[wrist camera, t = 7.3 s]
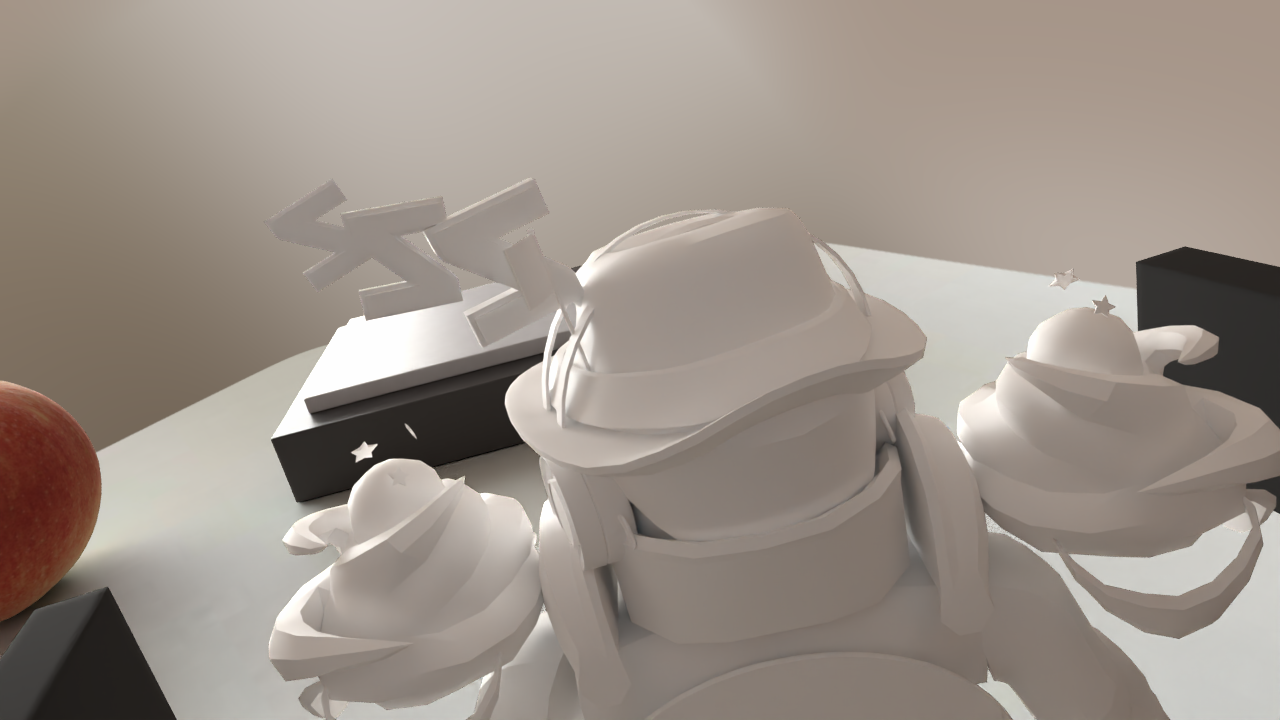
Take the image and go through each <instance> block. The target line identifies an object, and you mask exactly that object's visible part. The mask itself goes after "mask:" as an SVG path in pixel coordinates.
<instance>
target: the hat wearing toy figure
mask: <svg viewBox="0 0 1280 720" xmlns="http://www.w3.org/2000/svg"><path fill="white" fill-rule="evenodd" d="M346 200H347V199H346V198H345V196H344V195H343V193H342V192H341V191H340V189H339V188H338V186H337V185H336V184H335V182H334V181H333V179H331V180H329V181H328V182H326V183H324V184H323V185H321V186H320V187H318V188H316V189H315V190H313V191H312V192H310V193H309V194H307V195H305V196H304V197H303V198H301V199H299V200H297V201H296V202H294V203H293V204H291V205H289V206H288V207H286V208H285V209H283V210H281V211H280V212H279V213H277V214H275V215H274V216H272V217H270V218H269V219H267V220H266V221H264V223H265V224H266V225H267V227H268V228H269V229H270V231H271V232H272V233H273V234H274V235H275V236H276V237H277V238H278V239H280V240H283V241H287V242H291V243H296V244H300V245H304V246H309V247H313V248H318V249H322V250H327V251H331V252H335V253H333V254H331V255H330V256H328V257H327V258H325V259H324V260H322V261H321V262H319V263H318V264H316V265H315V266H313V267H311V268H310V269H308V270H306V271H305V272H304V273H303V274H304V275H305V277H306V278H307V279H308V281H309V282H310V283H311V285H312V286H313V287H314V288H315V290H316V291H317V292H320V291H321V290H323V289H324V288H326V287H327V286H329V285H331V284H332V283H334V282H335V281H337V280H338V279H340V278H341V277H343V276H344V275H346V274H348V273H349V272H351V271H352V270H354V269H355V268H357V267H358V266H360V265H361V264H363V263H365V262H366V261H368V260H369V259H371V258H373V259H375V260H377V261H378V262H379V263H381V264H382V265H384V266H385V267H386V268H388V269H389V270H391V271H392V272H394V273H395V274H397V275H398V276H400V277H401V278H403V279H404V280H405V281H403V282H398V283H392V284H387V285H382V286H377V287H372V288H367V289H362V290H359V295H360V299H361V303H362V308H363V312H364V316H365V320H366V321H369V320H374V319H379V318H383V317H388V316H393V315H398V314H403V313H408V312H412V311H417V310H422V309H427V308H432V307H437V306H442V305H446V304H451V303H456V302H460V301H463V297H462V292H461V288H460V285H459V280H458V278H457V277H456V276H455V274H454V273H453V272H451V271H450V270H449V269H447V268H446V267H444V266H443V265H441V264H440V263H439V262H437V261H436V260H434V259H433V258H432V257H430V256H429V255H427V254H426V253H425V252H423V251H422V250H421V249H419V248H418V247H416V246H415V245H414V244H412V243H411V242H409V241H408V240H406V239H405V238H404V237H402V235H408V234H413V233H419V232H423V233H424V235H425V237H426V239H427V241H428V243H429V244H430V246H431V248H432V250H433V251H434V253H435V254H436V255H437V256H438V257H439V258H440V259H441V260H442V261H443V262H446V263H448V264H451V265H453V266H456V267H458V268H461V269H463V270H466V271H469V272H471V273H474V274H477V275H479V276H482V277H485V278H487V279H490V280H493V281H495V282H498V283H500V284H503V285H506V286H508V287H511V289H509V290H507V291H505V292H503V293H501V294H499V295H497V296H495V297H493V298H491V299H489V300H487V301H485V302H483V303H481V304H479V305H476V306H474V307H472V308H470V309H468V310H466V311H464V312H463V313H464V315H465V317H466V319H467V321H468V323H469V325H470V327H471V329H472V331H473V333H474V335H475V337H476V339H477V340H478V343H479V344H480V345H481V346H482V348H484V347H486V346H488V345H490V344H492V343H494V342H496V341H498V340H500V339H502V338H504V337H506V336H508V335H510V334H512V333H514V332H516V331H517V330H519V329H521V328H523V327H525V326H527V325H529V324H531V323H533V322H535V321H537V320H539V319H541V318H543V317H545V316H547V315H549V314H551V313H553V312H555V311H557V312H556V315H555V317H554V319H553V322H552V324H551V327H550V331H549V335H548V339H547V343H546V347H545V351H544V359H543V361H542V362H541V363H539V364H537V365H535V366H533V367H531V368H530V369H528V370H527V371H526V372H524V373H523V374H521V375H520V376H519V377H518V378H517V379H516V380H515V381H514V382H513V383H512V384H511V385H510V387H509V389H508V391H507V392H506V396H505V406H506V410H507V413H508V416H509V419H510V421H511V423H512V425H513V426H514V428H515V429H516V431H517V432H518V434H519V435H520V437H521V438H522V440H523V441H525V442H526V443H527V444H528V445H529V446H530V447H531V448H532V449H533V450H534V451H535V452H536V453H538V454H539V455H540V456H541V457H540V458H539V465H540V470H541V475H542V479H543V483H544V487H545V490H546V493H547V496H548V500H547V501H546V502H545V503H544V505H543V509H542V513H541V517H540V523H539V552H538V551H537V550H536V549H535V545H536V538H537V534H536V533H535V532H534V531H533V532H532V524H531V523H530V521H529V519H528V517H527V515H526V513H525V511H524V509H523V507H522V505H521V504H520V503H519V502H518V501H517V500H516V499H515V498H511V497H505V496H500V495H495V494H490V493H480V494H479V493H478V492H476V491H475V490H473V489H471V488H470V487H468V486H467V485H465V484H464V481H465V476H463V477H461V478H459V479H457V480H453V479H450V478H446V479H442V480H441V479H440V478H439V476H438V474H437V473H436V471H435V470H434V469H433V468H432V467H430V466H428V465H427V464H425V463H424V462H422V461H420V460H411V459H389V460H386V461H384V462H381V463H378V464H376V465H374V466H373V467H372V468H371V469H370V470H368V471H367V472H366V473H365V474H364V475H363V476H362V477H361V478H360V479H359V481H358V482H357V483H356V484H355V485H354V486H353V488H352V491H351V494H350V498H349V501H348V504H345V505H341V506H337V507H333V508H329V509H326V510H322V511H319V512H315V513H313V514H310V515H308V516H306V517H304V518H302V519H300V520H298V521H296V522H295V524H294V525H293V526H292V527H291V529H290V530H289V531H288V533H287V534H286V536H285V537H284V539H283V540H282V541H283V543H284V545H285V546H286V548H287V550H288V552H289V554H293V555H308V554H316V553H319V552H321V551H323V550H324V549H325V548H326V547H327V546H328V545H327V544H331V545H334V546H335V548H336V549H337V550H338V552H339V553H340V554H341V556H340V557H339V558H338V560H337V561H336V562H335V563H334V564H333V565H331V566H330V567H328V568H327V569H326V570H324V571H323V572H322V573H320V574H319V575H317V576H316V577H315V578H313V579H312V580H310V581H309V582H308V583H306V584H305V585H304V586H302V587H301V588H300V589H299V591H298V592H297V593H296V594H295V595H294V597H293V598H292V599H291V600H290V602H289V603H288V604H287V605H286V606H285V608H284V609H283V610H282V611H281V612H280V614H279V615H278V616H277V619H276V622H275V625H274V628H273V632H272V635H271V638H270V642H269V660H270V661H271V663H272V664H273V665H274V666H275V668H276V669H277V670H278V672H279V673H280V674H281V676H282V677H283V678H284V680H285V681H292V680H299V679H306V678H313V677H317V676H318V677H319V679H320V681H318V682H316V683H314V684H312V685H310V686H308V687H306V688H305V689H304V691H303V692H302V694H301V695H300V697H299V700H300V703H301V705H302V706H303V707H304V708H305V709H306V710H308V711H309V712H310V713H311V714H313V715H315V716H318V717H322V718H326V720H336V719H335V718H337V717H338V716H339V715H340V714H341V713H342V712H343V711H344V710H345V709H346V707H347V704H348V701H350V702H367V703H375V704H377V705H379V706H381V707H383V708H385V709H386V710H391V709H399V708H406V707H414V706H422V705H428V704H430V703H432V702H434V701H436V700H438V699H440V698H443V697H445V696H447V695H449V694H451V693H453V692H455V691H457V690H459V689H461V688H463V687H465V686H467V685H468V684H470V683H472V682H474V681H476V680H478V679H480V678H481V677H483V676H484V678H483V681H482V684H481V687H480V690H479V695H478V699H477V703H476V707H475V711H474V714H473V715H471V716H470V717H469V718H467V719H466V720H1013V719H1012V718H1011V716H1010V715H1009V714H1008V712H1007V711H1006V710H1005V708H1004V707H1003V706H1002V705H1001V704H1000V703H999V702H998V701H996V700H995V699H994V698H993V697H992V696H991V695H990V694H989V693H988V692H986V691H985V690H984V689H982V688H981V687H980V686H978V685H977V684H979V683H985V682H987V671H988V669H989V671H990V673H991V675H992V677H993V679H994V681H1000V682H1004V683H1007V684H1009V686H1010V687H1011V688H1012V689H1013V691H1014V692H1015V693H1016V695H1017V696H1018V697H1019V698H1020V700H1021V701H1022V703H1023V704H1024V705H1025V707H1026V708H1027V710H1028V711H1029V712H1030V714H1031V715H1032V716H1033V717H1034V718H1035V719H1036V720H1170V719H1169V717H1168V716H1167V715H1166V713H1165V712H1164V710H1163V708H1162V707H1161V705H1160V703H1159V701H1158V699H1157V697H1156V695H1155V694H1154V693H1153V692H1152V690H1151V689H1150V687H1149V684H1148V682H1147V680H1146V678H1145V676H1144V675H1143V674H1142V673H1141V671H1140V670H1139V669H1138V668H1137V666H1136V665H1135V664H1134V663H1133V662H1132V660H1131V659H1130V658H1129V657H1128V656H1127V655H1126V654H1125V653H1124V652H1123V651H1122V650H1121V649H1120V648H1119V647H1118V646H1117V645H1116V644H1115V643H1113V642H1112V641H1111V640H1110V639H1109V638H1107V637H1106V636H1105V635H1104V634H1103V633H1101V632H1100V631H1099V630H1098V629H1096V628H1094V627H1092V626H1091V625H1090V623H1089V621H1088V620H1087V618H1086V616H1085V615H1084V613H1083V611H1082V610H1081V608H1080V606H1079V605H1078V603H1077V602H1076V600H1075V599H1074V597H1073V595H1072V594H1071V592H1070V591H1069V589H1068V587H1067V586H1066V584H1065V583H1064V581H1063V579H1062V578H1061V576H1060V575H1059V574H1058V573H1057V572H1056V571H1055V570H1054V569H1053V568H1052V567H1051V566H1050V565H1049V564H1048V563H1047V562H1046V561H1044V560H1043V559H1042V558H1041V557H1039V556H1038V555H1037V554H1035V553H1034V552H1033V551H1032V550H1030V549H1029V548H1028V547H1027V546H1025V545H1023V544H1021V543H1020V542H1018V541H1016V540H1014V539H1012V538H1011V537H1009V536H1007V535H1005V534H1001V533H991V532H987V525H986V518H985V513H986V514H987V515H988V516H989V517H991V518H992V519H993V520H994V521H995V522H996V523H997V524H998V525H999V526H1000V527H1001V528H1003V529H1004V530H1006V531H1008V532H1009V533H1011V534H1013V535H1014V536H1016V537H1018V538H1020V539H1021V540H1023V541H1025V542H1026V543H1028V544H1030V545H1031V546H1033V547H1035V548H1036V549H1038V550H1040V551H1041V552H1053V553H1059V555H1060V556H1061V558H1062V560H1063V561H1064V563H1065V564H1066V566H1067V568H1068V569H1069V571H1070V572H1071V574H1072V575H1073V577H1074V579H1075V580H1076V581H1077V582H1078V583H1079V584H1080V585H1081V586H1082V587H1083V588H1085V589H1086V590H1087V591H1088V592H1089V593H1090V594H1091V596H1092V597H1093V598H1094V599H1095V600H1096V601H1097V602H1098V603H1099V604H1100V605H1101V606H1102V607H1103V608H1104V609H1105V610H1106V611H1108V612H1109V613H1111V614H1113V615H1115V616H1116V617H1118V618H1120V619H1122V620H1123V621H1125V622H1127V623H1129V624H1131V625H1132V626H1134V627H1136V628H1138V629H1139V630H1141V631H1143V632H1145V633H1151V634H1156V635H1161V636H1166V637H1172V638H1177V639H1180V638H1182V637H1184V636H1186V635H1189V634H1191V633H1193V632H1195V631H1197V630H1199V629H1202V628H1204V627H1206V626H1208V625H1210V624H1212V623H1214V622H1215V621H1216V620H1218V619H1219V618H1220V616H1221V615H1222V614H1223V613H1224V611H1225V610H1226V609H1227V608H1228V607H1229V605H1230V604H1231V603H1232V602H1233V600H1234V599H1235V598H1236V597H1237V595H1238V594H1239V593H1240V592H1241V590H1242V589H1243V588H1244V587H1245V586H1246V584H1247V583H1248V582H1249V580H1250V577H1251V575H1252V572H1253V570H1254V567H1255V564H1256V562H1257V559H1258V557H1259V554H1260V552H1261V549H1262V547H1263V539H1262V534H1261V530H1260V525H1261V524H1262V523H1264V522H1265V521H1266V520H1267V519H1268V517H1269V516H1270V515H1271V513H1272V512H1273V510H1274V509H1275V507H1276V496H1274V495H1273V494H1271V493H1269V492H1268V491H1266V490H1263V489H1246V483H1253V482H1258V481H1262V480H1265V479H1269V478H1273V477H1277V476H1280V429H1279V428H1278V427H1277V426H1276V425H1275V424H1274V423H1273V422H1272V421H1271V420H1270V418H1269V417H1268V416H1267V415H1266V414H1265V413H1264V412H1263V411H1262V410H1261V409H1260V408H1258V407H1256V406H1253V405H1251V404H1248V403H1246V402H1243V401H1241V400H1239V399H1236V398H1234V397H1231V396H1229V395H1226V394H1224V393H1221V392H1219V391H1214V390H1209V389H1203V388H1198V387H1192V386H1187V385H1182V384H1180V383H1177V382H1175V381H1173V380H1171V379H1168V378H1166V377H1164V376H1163V372H1164V366H1165V365H1167V364H1168V363H1169V362H1171V361H1174V360H1177V359H1178V362H1179V363H1181V364H1184V365H1191V364H1196V363H1199V362H1202V361H1204V360H1207V359H1210V358H1212V357H1214V356H1215V355H1216V354H1217V353H1218V344H1219V337H1218V336H1216V335H1214V334H1212V333H1210V332H1208V331H1206V330H1204V329H1202V328H1199V327H1197V326H1195V325H1181V326H1165V327H1159V328H1153V329H1148V330H1143V331H1137V332H1133V331H1132V330H1131V329H1130V328H1129V327H1128V326H1127V325H1126V324H1125V323H1124V321H1123V320H1122V319H1121V318H1119V317H1117V316H1114V315H1112V314H1109V310H1111V309H1113V308H1115V306H1113V305H1111V304H1109V303H1108V300H1107V297H1106V295H1105V297H1104V298H1103V299H1102V300H1101V301H1095V300H1092V301H1093V303H1094V305H1095V306H1096V309H1092V308H1088V307H1085V308H1071V309H1067V310H1065V311H1063V312H1061V313H1059V314H1057V315H1055V316H1053V317H1051V318H1049V319H1047V320H1046V321H1044V322H1042V323H1040V324H1039V326H1038V327H1037V328H1036V330H1035V331H1034V333H1033V334H1032V335H1031V337H1030V338H1029V344H1028V351H1026V352H1022V353H1018V354H1017V355H1016V356H1015V357H1005V358H1006V360H1007V361H1008V363H1007V364H1006V365H1005V367H1004V369H1003V371H1002V372H1001V374H1000V376H999V377H998V379H997V381H994V382H990V383H987V384H984V385H983V386H982V387H981V388H979V389H978V390H977V391H975V392H974V393H972V394H971V395H969V396H968V397H966V398H965V399H964V400H962V401H961V402H960V404H959V409H958V420H957V435H958V437H959V439H960V441H961V442H960V441H957V440H956V438H955V437H954V435H953V433H952V432H951V431H950V430H949V429H948V428H947V427H946V426H945V424H944V423H943V422H942V421H941V420H940V419H939V418H936V417H932V416H928V415H924V414H917V413H915V403H914V399H913V395H912V390H911V386H910V384H909V382H908V379H907V377H906V375H905V372H904V370H906V369H907V368H909V367H910V366H912V365H913V364H914V363H916V362H917V361H919V360H920V359H921V358H923V356H924V351H925V346H926V341H927V337H926V336H925V334H924V333H923V332H922V330H921V329H920V327H919V326H918V325H917V324H916V323H915V322H914V321H913V320H912V319H910V318H909V317H908V316H907V315H906V314H905V313H904V312H902V311H900V310H899V309H897V308H895V307H894V306H892V305H891V304H889V303H887V302H886V301H884V300H881V299H879V298H876V297H873V296H871V295H868V294H866V293H864V292H863V290H862V288H861V286H860V284H859V282H858V281H857V279H856V277H855V275H854V273H853V272H852V270H851V269H850V268H849V267H848V266H847V264H846V263H845V262H844V261H843V259H842V258H841V257H840V256H839V255H838V254H837V253H836V252H835V251H834V250H832V249H831V248H830V247H829V246H828V245H827V244H825V243H824V242H823V241H822V240H820V239H818V238H817V237H815V236H813V235H811V234H809V233H808V231H807V229H806V228H805V226H804V225H803V223H802V221H801V220H800V218H798V216H796V214H795V213H793V212H792V211H791V210H790V209H785V208H763V207H762V208H754V209H748V210H743V211H737V212H732V211H724V210H717V209H711V210H691V211H689V210H688V211H681V212H677V213H672V214H668V215H663V216H659V217H657V218H654V219H652V220H649V221H647V222H644V223H642V224H639V225H637V226H635V227H633V228H632V229H630V230H629V231H627V232H625V233H623V234H622V235H620V236H619V237H617V238H615V239H614V240H613V241H611V242H610V243H609V244H608V245H607V246H604V247H602V248H600V249H598V250H596V251H593V252H592V254H591V255H590V257H589V258H588V260H587V261H586V262H585V263H584V265H583V266H582V267H581V268H580V269H579V270H578V271H577V272H576V273H575V272H574V271H573V270H572V269H571V268H570V267H568V266H566V265H564V264H562V263H560V262H557V261H555V260H553V259H550V258H548V257H545V256H543V254H542V252H541V249H540V247H539V244H538V242H537V240H536V237H535V235H534V230H533V229H532V228H529V229H527V234H528V235H527V236H526V238H523V240H521V241H519V242H517V243H516V244H513V243H510V242H508V241H505V240H503V239H500V238H499V237H501V236H503V235H506V234H507V233H509V232H512V231H514V230H516V229H518V228H520V227H522V226H524V225H526V224H528V223H530V222H532V221H534V220H536V219H539V218H541V217H543V216H545V215H547V214H549V211H548V209H547V207H546V204H545V202H544V199H543V197H542V195H541V193H540V191H539V188H538V186H537V184H536V181H535V179H533V178H528V179H525V180H524V181H521V182H519V183H517V184H515V185H513V186H511V187H508V188H506V189H504V190H502V191H500V192H498V193H496V194H494V195H491V196H489V197H487V198H485V199H483V200H481V201H479V202H477V203H475V204H472V205H470V206H468V207H466V208H464V209H462V210H460V211H458V212H456V213H454V214H451V215H449V216H447V217H446V212H445V207H444V202H443V197H442V196H439V197H432V198H426V199H421V200H415V201H409V202H403V203H398V204H392V205H386V206H380V207H374V208H369V209H363V210H357V211H351V212H344V213H341V217H342V222H343V226H344V227H341V226H337V225H333V224H329V223H324V222H320V221H316V219H318V218H319V217H321V216H322V215H324V214H325V213H327V212H329V211H330V210H331V209H333V208H335V207H336V206H338V205H340V204H341V203H343V202H344V201H346ZM700 213H712V214H708V215H703V216H699V217H695V218H690V219H686V220H682V221H679V222H675V223H671V224H668V225H665V226H661V227H658V228H655V229H651V230H648V231H645V232H642V233H639V234H636V235H634V234H635V233H637V232H639V231H640V230H642V229H644V228H646V227H649V226H651V225H654V224H656V223H659V222H661V221H664V220H666V219H670V218H675V217H679V216H684V215H689V214H700ZM632 235H633V236H632ZM813 242H814V243H815V244H816V245H817V246H818V247H820V248H821V249H822V250H823V251H825V252H826V253H827V254H828V255H829V256H830V258H831V259H832V260H833V261H834V263H835V264H836V265H837V266H838V268H839V269H840V270H841V271H842V273H843V275H844V277H845V279H846V280H847V282H848V284H849V286H850V288H851V289H852V290H851V289H846V288H844V286H843V285H841V284H839V283H837V282H835V281H833V280H831V279H830V277H829V276H828V274H827V273H826V271H825V268H824V266H823V264H822V262H821V259H820V257H819V255H818V252H817V250H816V248H815V246H814V243H813ZM1073 272H1074V269H1072V270H1069V271H1067V272H1065V273H1054V274H1055V277H1056V279H1055V280H1054V281H1053V282H1052V283H1051V284H1050V285H1049V286H1061V287H1062V288H1063V289H1064V290H1065V289H1066V287H1067V286H1068V285H1069V284H1070V283H1072V282H1074V281H1077V280H1079V278H1077V277H1075V276H1073ZM572 302H573V303H574V304H575V305H576V312H577V314H576V327H575V329H574V328H573V325H572V323H571V320H570V318H569V316H568V313H567V311H566V309H567V306H568V304H570V303H572ZM563 316H564V319H565V321H566V323H567V326H568V328H569V330H570V333H571V337H570V339H569V341H567V342H566V343H565V344H564V345H563V346H561V347H560V348H559V349H558V351H557V352H556V354H555V355H554V356H552V357H551V355H552V351H553V347H554V343H555V339H556V335H557V331H558V328H559V325H560V323H561V321H562V318H563ZM405 425H406V428H407V429H408V430H409V432H410V433H411V434H412V435H413V436H414V437H415V438H416V436H415V434H414V432H413V431H412V430H411V428H410V427H409V426H408V425H407V424H405ZM416 439H417V438H416ZM377 445H378V444H374V445H367V444H366V443H365V441H364V442H363V444H362V445H361V446H360V447H359V448H358V449H356V450H354V451H353V452H351V453H352V454H354V455H356V462H358V461H360V460H362V459H363V458H369V457H372V453H371V452H372V451H373V450H374V448H375V447H376V446H377ZM1221 524H1222V525H1223V526H1224V527H1226V528H1228V529H1231V530H1234V531H1237V532H1240V533H1244V532H1246V531H1249V530H1251V529H1252V530H1251V531H1250V533H1249V535H1248V537H1247V539H1246V541H1245V543H1244V545H1243V547H1242V549H1241V550H1240V552H1239V554H1238V556H1237V558H1236V559H1234V560H1233V561H1232V562H1231V563H1230V564H1229V565H1228V566H1227V567H1226V568H1225V569H1224V570H1223V571H1222V572H1221V573H1220V574H1219V575H1218V576H1217V577H1216V578H1215V579H1214V580H1213V581H1212V582H1210V583H1208V584H1205V585H1203V586H1201V587H1198V588H1196V589H1194V590H1191V591H1189V592H1187V593H1184V594H1182V595H1180V596H1170V595H1157V594H1144V593H1139V592H1135V591H1130V590H1126V589H1121V588H1117V587H1113V586H1108V585H1104V584H1103V583H1102V582H1100V581H1099V580H1098V579H1096V578H1095V577H1094V576H1093V575H1091V574H1090V573H1089V572H1087V571H1086V570H1085V569H1084V568H1082V567H1081V566H1080V565H1078V564H1077V563H1076V562H1075V561H1074V560H1073V559H1072V558H1071V557H1070V556H1069V554H1081V555H1095V556H1109V557H1148V558H1149V557H1153V556H1156V555H1160V554H1164V553H1167V552H1171V551H1175V550H1178V549H1182V548H1185V547H1189V546H1192V545H1193V544H1194V543H1195V541H1196V540H1197V539H1198V538H1199V537H1200V536H1201V535H1202V534H1203V533H1204V532H1206V531H1208V530H1210V529H1213V528H1215V527H1217V526H1219V525H1221ZM543 603H544V605H545V608H546V612H541V609H542V606H543ZM540 612H541V613H540ZM987 667H988V669H987Z"/></svg>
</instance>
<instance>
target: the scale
mask: <svg viewBox="0 0 1280 720" xmlns="http://www.w3.org/2000/svg"><path fill="white" fill-rule="evenodd" d="M582 266H583V265H582ZM582 266H578V267H574V268H571V269H572V270H573V271H574V272H575V273H576V272H577V271H578V270H579V269H580V268H581V267H582ZM509 289H511V287H508V286H506V285H503V284H500V283H498V282H494V283H491V284H487V285H483V286H479V287H475V288H471V289H468V290H463V291H461V292H462V297H463V301H460V302H456V303H451V304H446V305H442V306H437V307H432V308H427V309H422V310H417V311H412V312H408V313H403V314H398V315H393V316H388V317H383V318H379V319H374V320H369V321H366V320H365V316H361V317H357V318H354V319H350V321H349V323H348V324H347V326H343V327H339V328H338V330H337V332H336V333H335V335H334V337H333V338H332V340H331V341H330V343H329V345H328V346H327V348H326V350H325V351H324V353H323V355H322V356H321V358H320V360H319V361H318V363H317V365H316V366H315V368H314V369H313V371H312V373H311V374H310V376H309V378H308V379H307V381H306V383H305V384H304V386H303V388H302V389H301V391H300V393H299V394H298V396H297V397H296V399H295V401H294V402H293V404H292V406H291V407H290V409H289V411H288V412H287V414H286V416H285V417H284V419H283V421H282V422H281V424H280V425H279V427H278V429H277V430H276V432H275V434H274V435H273V437H272V439H271V441H272V443H273V446H274V448H275V451H276V453H277V455H278V458H279V460H280V463H281V465H282V468H283V470H284V472H285V475H286V477H287V480H288V482H289V485H290V487H291V489H292V492H293V494H294V497H295V499H296V502H301V501H305V500H309V499H313V498H316V497H320V496H324V495H328V494H331V493H335V492H339V491H343V490H346V489H350V488H353V486H354V485H355V484H356V483H357V482H358V481H359V479H360V478H361V477H362V476H363V475H364V474H365V473H366V472H367V471H368V470H370V469H371V468H372V467H373V466H374V465H376V464H378V463H381V462H384V461H386V460H389V459H411V460H420V461H422V462H424V463H425V464H427V465H428V466H430V467H433V466H436V465H440V464H444V463H448V462H451V461H455V460H459V459H463V458H467V457H470V456H474V455H478V454H482V453H485V452H489V451H493V450H497V449H500V448H504V447H508V446H512V445H515V444H519V443H523V442H525V441H523V440H522V438H521V437H520V435H519V434H518V432H517V431H516V429H515V428H514V426H513V425H512V423H511V421H510V419H509V416H508V413H507V410H506V406H505V396H506V392H507V391H508V389H509V387H510V385H511V384H512V383H513V382H514V381H515V380H516V379H517V378H518V377H519V376H520V375H521V374H523V373H524V372H526V371H527V370H528V369H530V368H531V367H533V366H535V365H537V364H539V363H541V362H542V361H543V359H544V351H545V347H546V343H547V339H548V335H549V331H550V327H551V324H552V322H553V319H554V317H555V315H556V312H557V311H555V312H553V313H551V314H549V315H547V316H545V317H543V318H541V319H539V320H537V321H535V322H533V323H531V324H529V325H527V326H525V327H523V328H521V329H519V330H517V331H516V332H514V333H512V334H510V335H508V336H506V337H504V338H502V339H500V340H498V341H496V342H494V343H492V344H490V345H488V346H486V347H484V348H482V346H481V345H480V344H479V343H478V340H477V339H476V337H475V335H474V333H473V331H472V329H471V327H470V325H469V323H468V321H467V319H466V317H465V315H464V313H463V312H464V311H466V310H468V309H470V308H472V307H474V306H476V305H479V304H481V303H483V302H485V301H487V300H489V299H491V298H493V297H495V296H497V295H499V294H501V293H503V292H505V291H507V290H509ZM566 311H567V313H568V316H569V318H570V320H571V323H572V325H573V328H574V329H575V327H576V314H577V312H576V305H575V304H574V303H573V302H572V303H570V304H568V306H567V309H566ZM570 337H571V333H570V330H569V328H568V326H567V323H566V321H565V319H564V316H563V318H562V321H561V323H560V325H559V328H558V331H557V335H556V339H555V343H554V347H553V351H552V355H551V357H552V356H554V355H555V354H556V352H557V351H558V349H559V348H560V347H561V346H563V345H564V344H565V343H566V342H567V341H569V339H570ZM405 424H407V425H408V426H409V427H410V428H411V430H412V431H413V432H414V434H415V436H416V438H417V439H416V438H415V437H414V436H413V435H412V434H411V433H410V432H409V430H408V429H407V428H406V425H405ZM364 441H365V443H366V444H367V445H374V444H378V445H377V446H376V447H375V448H374V450H373V451H372V452H371V453H372V457H369V458H363V459H362V460H360V461H358V462H356V455H354V454H352V453H351V452H353V451H354V450H356V449H358V448H359V447H360V446H361V445H362V444H363V442H364Z"/></svg>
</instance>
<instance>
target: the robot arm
mask: <svg viewBox="0 0 1280 720" xmlns="http://www.w3.org/2000/svg"><path fill="white" fill-rule="evenodd" d="M1136 274H1137V310H1138V331H1143V330H1148V329H1153V328H1159V327H1165V326H1181V325H1195V326H1197V327H1199V328H1202V329H1204V330H1206V331H1208V332H1210V333H1212V334H1214V335H1216V336H1218V337H1219V344H1218V353H1217V354H1216V355H1215V356H1214V357H1212V358H1210V359H1207V360H1204V361H1202V362H1199V363H1196V364H1191V365H1184V364H1181V363H1179V362H1178V359H1177V360H1174V361H1171V362H1169V363H1168V364H1167V365H1165V366H1164V372H1163V376H1164V377H1166V378H1168V379H1171V380H1173V381H1175V382H1177V383H1180V384H1182V385H1187V386H1192V387H1198V388H1203V389H1209V390H1214V391H1219V392H1221V393H1224V394H1226V395H1229V396H1231V397H1234V398H1236V399H1239V400H1241V401H1243V402H1246V403H1248V404H1251V405H1253V406H1256V407H1258V408H1260V409H1261V410H1262V411H1263V412H1264V413H1265V414H1266V415H1267V416H1268V417H1269V418H1270V420H1271V421H1272V422H1273V423H1274V424H1275V425H1276V426H1277V427H1278V428H1279V429H1280V267H1277V266H1272V265H1268V264H1263V263H1258V262H1254V261H1249V260H1245V259H1240V258H1235V257H1231V256H1226V255H1222V254H1217V253H1213V252H1208V251H1203V250H1199V249H1194V248H1189V247H1182V248H1179V249H1176V250H1173V251H1170V252H1166V253H1163V254H1160V255H1157V256H1154V257H1151V258H1147V259H1144V260H1141V261H1138V262H1136ZM1246 489H1263V490H1266V491H1268V492H1269V493H1271V494H1273V495H1274V496H1276V507H1275V509H1274V510H1273V511H1275V512H1277V513H1279V514H1280V476H1277V477H1273V478H1269V479H1265V480H1262V481H1258V482H1253V483H1246ZM0 720H177V719H176V717H175V715H174V713H173V711H172V710H171V708H170V706H169V704H168V702H167V700H166V698H165V696H164V694H163V692H162V690H161V688H160V686H159V684H158V682H157V681H156V679H155V677H154V675H153V673H152V671H151V669H150V667H149V665H148V663H147V661H146V659H145V657H144V655H143V653H142V651H141V650H140V648H139V646H138V644H137V642H136V640H135V638H134V636H133V634H132V632H131V630H130V628H129V626H128V624H127V622H126V621H125V619H124V617H123V615H122V613H121V611H120V609H119V607H118V605H117V603H116V601H115V599H114V597H113V595H112V593H111V591H110V590H109V588H108V587H105V588H102V589H99V590H96V591H93V592H89V593H86V594H83V595H80V596H77V597H74V598H70V599H67V600H64V601H61V602H58V603H55V604H51V605H48V606H45V607H42V608H39V609H35V610H34V611H33V612H32V614H31V615H30V617H29V618H28V620H27V621H26V623H25V624H24V625H23V627H22V628H21V630H20V631H19V633H18V634H17V636H16V637H15V638H14V640H13V641H12V643H11V644H10V646H9V647H8V649H7V650H6V651H5V653H4V654H3V656H2V657H1V659H0Z"/></svg>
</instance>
